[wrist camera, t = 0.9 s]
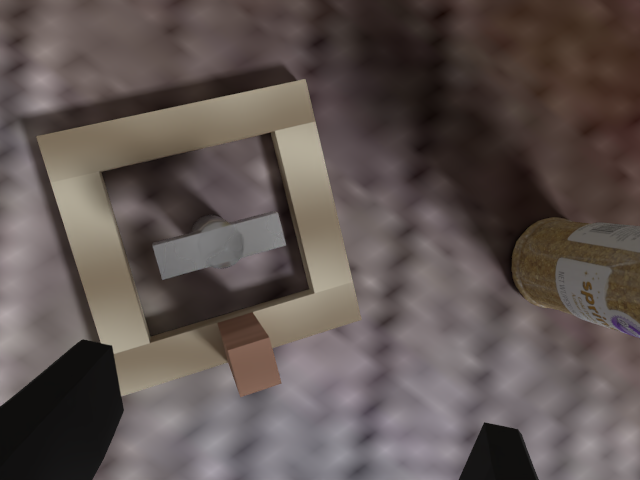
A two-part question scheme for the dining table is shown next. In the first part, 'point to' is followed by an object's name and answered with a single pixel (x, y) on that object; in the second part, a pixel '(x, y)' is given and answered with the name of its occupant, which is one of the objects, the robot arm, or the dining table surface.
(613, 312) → the sprinkles bottle
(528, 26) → the dining table surface
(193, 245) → the T-head stake
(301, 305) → the birch frame
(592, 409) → the dining table surface
